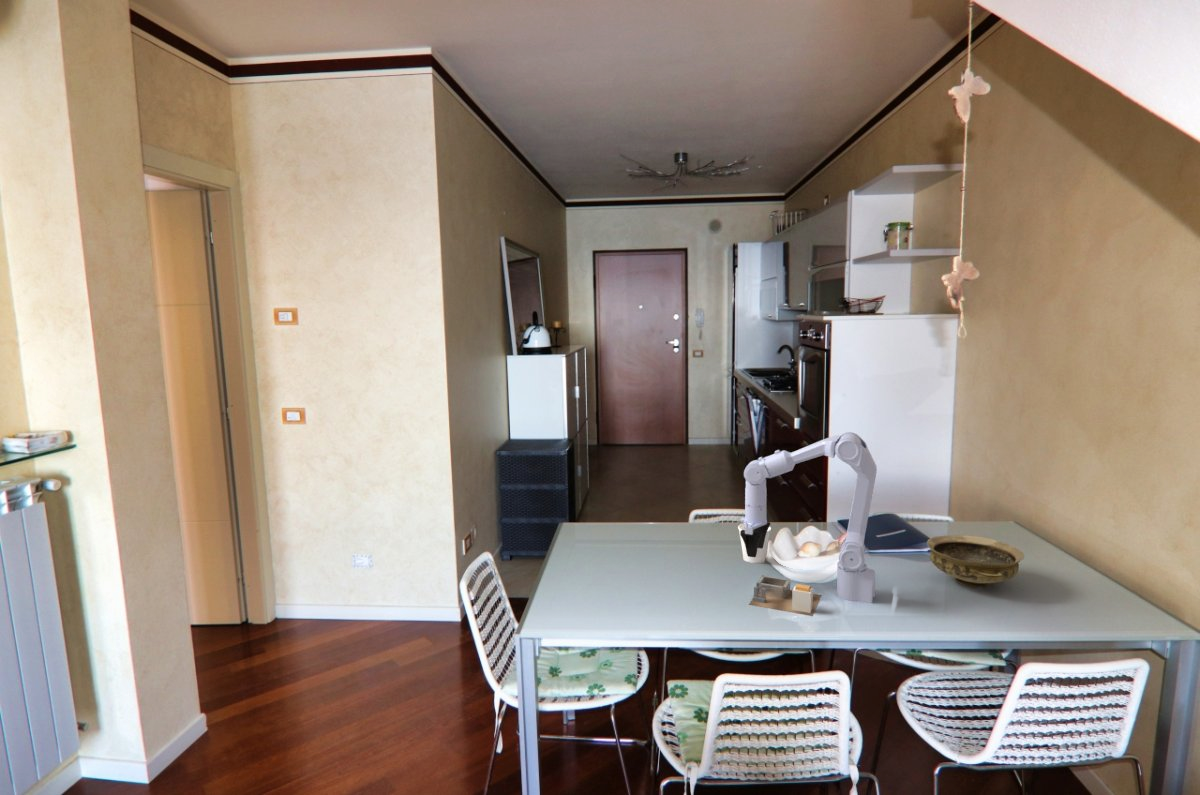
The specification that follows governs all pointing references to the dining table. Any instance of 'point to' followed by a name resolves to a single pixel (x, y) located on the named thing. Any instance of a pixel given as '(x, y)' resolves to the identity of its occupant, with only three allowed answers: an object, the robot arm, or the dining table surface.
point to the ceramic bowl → (974, 559)
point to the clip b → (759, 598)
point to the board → (785, 603)
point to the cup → (760, 552)
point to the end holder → (774, 586)
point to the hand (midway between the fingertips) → (755, 552)
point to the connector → (802, 598)
